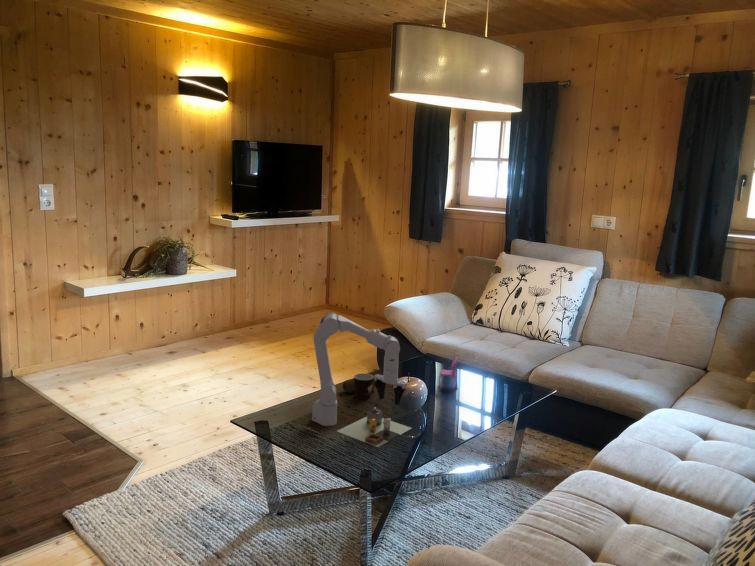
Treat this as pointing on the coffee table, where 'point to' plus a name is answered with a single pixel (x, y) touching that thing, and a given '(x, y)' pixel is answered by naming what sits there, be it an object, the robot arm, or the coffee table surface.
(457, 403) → the coffee table surface
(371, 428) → the lever
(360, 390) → the coffee mug
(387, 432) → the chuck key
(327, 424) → the robot arm
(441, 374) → the toy chair
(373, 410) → the cylinder
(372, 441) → the frame
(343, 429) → the board
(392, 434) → the rubber pad
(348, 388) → the stone weight
